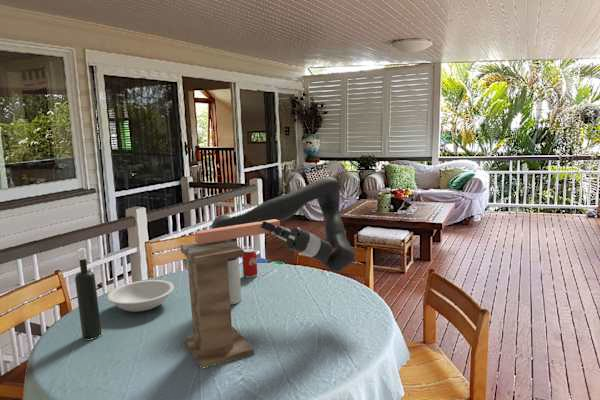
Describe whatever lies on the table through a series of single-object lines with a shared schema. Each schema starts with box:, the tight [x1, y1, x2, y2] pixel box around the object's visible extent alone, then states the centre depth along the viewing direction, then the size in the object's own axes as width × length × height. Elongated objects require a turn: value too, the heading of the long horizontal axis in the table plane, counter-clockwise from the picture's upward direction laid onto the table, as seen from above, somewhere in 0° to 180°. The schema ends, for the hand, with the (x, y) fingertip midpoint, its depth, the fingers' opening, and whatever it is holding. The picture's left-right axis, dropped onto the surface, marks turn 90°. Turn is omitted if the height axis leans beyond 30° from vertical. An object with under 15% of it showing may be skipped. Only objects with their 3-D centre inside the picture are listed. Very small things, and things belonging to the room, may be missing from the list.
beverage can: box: [241, 248, 258, 279], centre depth 204 cm, size 6×6×12 cm
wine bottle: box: [74, 247, 102, 340], centre depth 149 cm, size 6×6×30 cm
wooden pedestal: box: [179, 239, 255, 369], centre depth 138 cm, size 18×16×33 cm
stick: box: [194, 219, 281, 244], centre depth 138 cm, size 3×26×3 cm, turn 119°
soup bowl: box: [106, 279, 175, 312], centre depth 174 cm, size 24×24×7 cm
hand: (260, 223), depth 141 cm, fingers closed on stick, 3 cm apart
